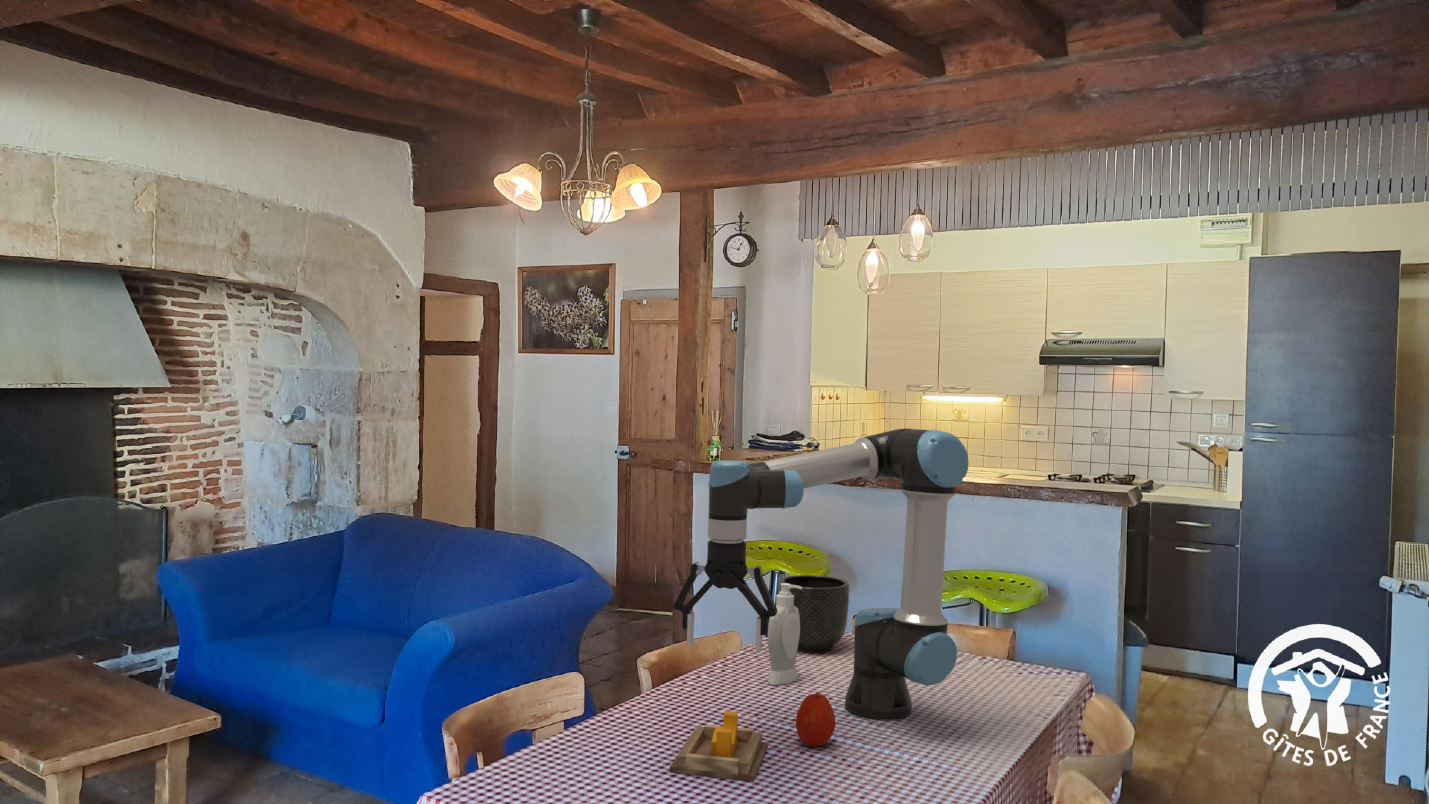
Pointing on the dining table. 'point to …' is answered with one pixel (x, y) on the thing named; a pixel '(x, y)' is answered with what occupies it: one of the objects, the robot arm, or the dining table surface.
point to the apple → (815, 720)
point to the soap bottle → (784, 638)
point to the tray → (703, 763)
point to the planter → (819, 610)
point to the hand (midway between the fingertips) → (724, 648)
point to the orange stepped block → (725, 736)
